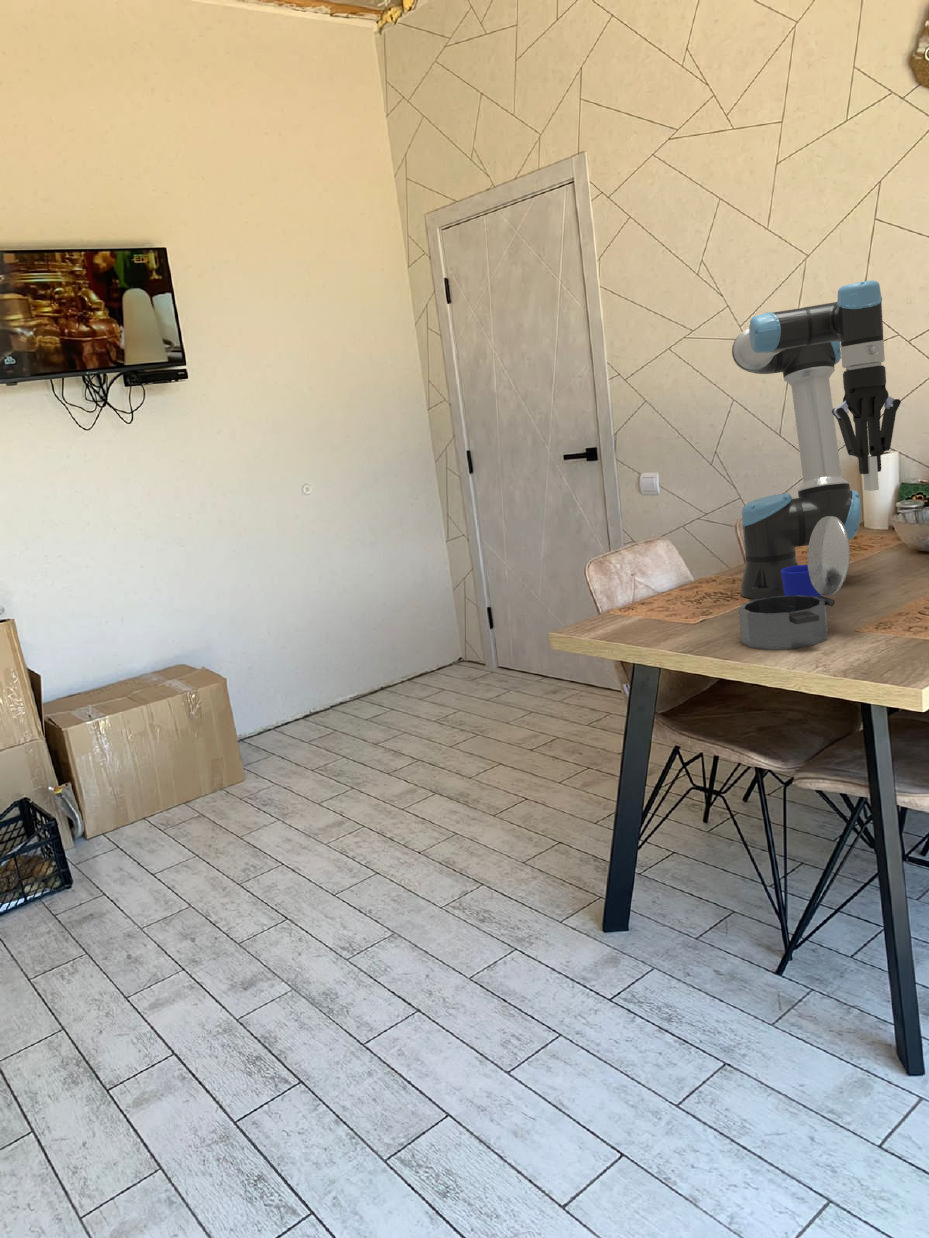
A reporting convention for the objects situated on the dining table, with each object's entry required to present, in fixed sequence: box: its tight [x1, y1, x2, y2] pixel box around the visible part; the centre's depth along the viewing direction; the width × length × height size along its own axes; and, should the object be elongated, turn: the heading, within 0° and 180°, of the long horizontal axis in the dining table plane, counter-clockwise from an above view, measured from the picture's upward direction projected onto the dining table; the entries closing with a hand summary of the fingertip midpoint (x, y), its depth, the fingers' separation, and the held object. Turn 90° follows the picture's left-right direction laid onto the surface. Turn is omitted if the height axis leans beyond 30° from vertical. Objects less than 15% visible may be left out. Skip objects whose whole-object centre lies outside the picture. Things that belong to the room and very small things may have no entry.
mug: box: [781, 564, 822, 597], centre depth 205 cm, size 8×12×10 cm
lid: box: [806, 516, 851, 596], centre depth 184 cm, size 16×16×2 cm
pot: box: [738, 595, 836, 651], centre depth 186 cm, size 22×18×7 cm
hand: (871, 489), depth 183 cm, fingers closed
